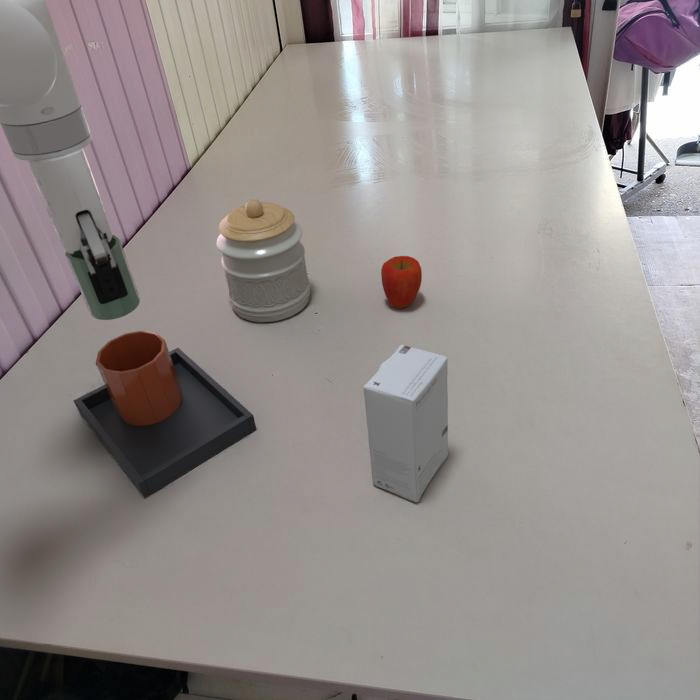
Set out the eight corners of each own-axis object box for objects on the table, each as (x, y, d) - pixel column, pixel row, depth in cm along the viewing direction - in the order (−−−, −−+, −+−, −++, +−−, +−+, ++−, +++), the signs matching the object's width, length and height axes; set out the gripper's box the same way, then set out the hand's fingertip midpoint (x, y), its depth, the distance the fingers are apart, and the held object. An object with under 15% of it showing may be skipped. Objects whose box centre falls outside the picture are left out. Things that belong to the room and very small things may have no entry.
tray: (144, 498, 73) (138, 484, 71) (80, 414, 85) (73, 400, 84) (256, 429, 80) (253, 414, 79) (182, 361, 93) (178, 347, 91)
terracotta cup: (135, 435, 80) (113, 382, 75) (108, 403, 86) (85, 351, 80) (193, 403, 84) (176, 350, 79) (164, 374, 89) (146, 323, 84)
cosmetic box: (417, 505, 69) (414, 405, 60) (369, 485, 72) (359, 386, 63) (449, 453, 74) (451, 355, 65) (404, 436, 77) (399, 340, 68)
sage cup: (102, 326, 72) (77, 265, 67) (82, 306, 76) (57, 247, 71) (148, 305, 75) (128, 245, 70) (127, 286, 78) (106, 228, 73)
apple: (419, 315, 97) (419, 273, 92) (379, 313, 98) (377, 271, 93) (424, 292, 101) (423, 251, 97) (386, 291, 103) (384, 250, 98)
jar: (323, 309, 100) (309, 206, 89) (243, 333, 97) (219, 229, 86) (296, 272, 110) (281, 174, 99) (223, 292, 106) (199, 194, 95)
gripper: (-3, 119, 67) (60, 266, 78) (20, 168, 55) (90, 334, 66) (69, 102, 70) (120, 247, 81) (106, 146, 58) (160, 309, 69)
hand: (106, 285), depth 73 cm, fingers closed on sage cup, 5 cm apart
